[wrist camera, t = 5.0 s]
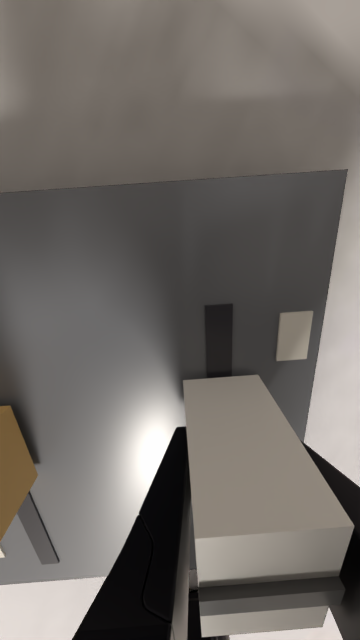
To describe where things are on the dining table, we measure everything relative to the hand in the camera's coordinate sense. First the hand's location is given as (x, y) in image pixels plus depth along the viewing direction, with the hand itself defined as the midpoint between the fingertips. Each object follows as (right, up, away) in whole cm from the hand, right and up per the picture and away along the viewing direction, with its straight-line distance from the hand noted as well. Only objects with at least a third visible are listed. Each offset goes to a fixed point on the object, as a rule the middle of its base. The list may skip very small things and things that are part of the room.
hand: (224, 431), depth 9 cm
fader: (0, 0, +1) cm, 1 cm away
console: (-5, -1, +4) cm, 6 cm away
